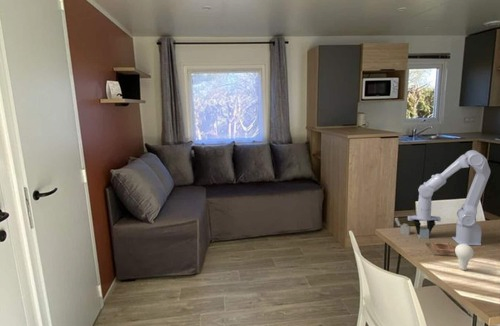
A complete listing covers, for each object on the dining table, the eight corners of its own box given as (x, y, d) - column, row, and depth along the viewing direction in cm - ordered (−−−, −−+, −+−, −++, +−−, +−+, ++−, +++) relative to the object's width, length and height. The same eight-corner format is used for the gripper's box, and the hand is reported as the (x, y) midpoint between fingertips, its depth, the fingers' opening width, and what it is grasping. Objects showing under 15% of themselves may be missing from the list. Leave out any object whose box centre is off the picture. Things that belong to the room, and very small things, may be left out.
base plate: (451, 245, 144) (452, 241, 143) (462, 257, 133) (462, 252, 133) (426, 244, 146) (426, 240, 146) (434, 255, 136) (434, 251, 135)
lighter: (409, 233, 159) (410, 219, 158) (409, 234, 158) (409, 220, 157) (394, 231, 164) (395, 217, 162) (394, 232, 162) (394, 218, 161)
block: (426, 235, 156) (426, 227, 156) (428, 238, 153) (429, 230, 152) (417, 235, 157) (417, 226, 157) (420, 238, 154) (420, 229, 153)
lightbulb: (466, 275, 119) (468, 249, 117) (450, 268, 124) (452, 243, 123) (475, 271, 122) (477, 245, 120) (459, 264, 127) (460, 239, 125)
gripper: (437, 206, 155) (436, 231, 157) (406, 205, 158) (405, 230, 160) (443, 210, 148) (441, 237, 150) (410, 210, 151) (409, 236, 153)
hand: (423, 234), depth 155 cm, fingers closed on block, 4 cm apart
